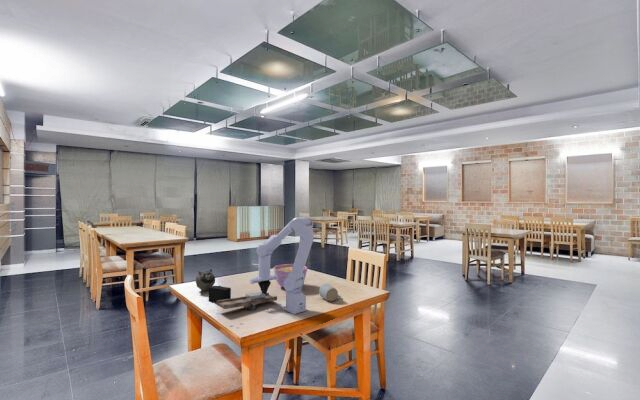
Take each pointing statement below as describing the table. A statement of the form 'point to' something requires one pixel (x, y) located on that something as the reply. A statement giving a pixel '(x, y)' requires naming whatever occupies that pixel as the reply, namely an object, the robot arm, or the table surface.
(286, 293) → the robot arm
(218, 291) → the digital camera
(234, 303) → the beam
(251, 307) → the pivot stand
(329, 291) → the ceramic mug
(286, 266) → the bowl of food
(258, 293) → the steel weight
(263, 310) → the table surface
